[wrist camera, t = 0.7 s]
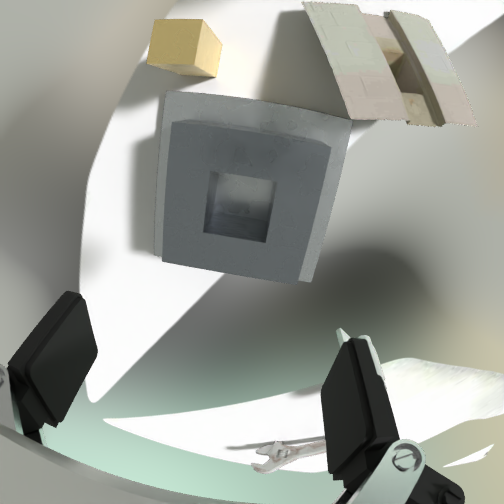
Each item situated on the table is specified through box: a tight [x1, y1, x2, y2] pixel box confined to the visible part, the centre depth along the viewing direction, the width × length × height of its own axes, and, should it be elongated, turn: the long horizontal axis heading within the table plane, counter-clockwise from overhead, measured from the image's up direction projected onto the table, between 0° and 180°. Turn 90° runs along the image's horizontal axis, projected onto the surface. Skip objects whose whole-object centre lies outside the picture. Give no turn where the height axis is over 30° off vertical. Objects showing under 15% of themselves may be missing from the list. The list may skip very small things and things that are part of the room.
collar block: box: [154, 91, 353, 285], centre depth 31 cm, size 20×20×7 cm
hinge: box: [336, 328, 387, 389], centre depth 40 cm, size 14×5×10 cm, turn 19°
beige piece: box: [301, 2, 478, 127], centre depth 24 cm, size 16×9×15 cm
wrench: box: [251, 440, 326, 474], centre depth 55 cm, size 8×2×30 cm
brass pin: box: [146, 19, 222, 77], centre depth 23 cm, size 4×4×10 cm
